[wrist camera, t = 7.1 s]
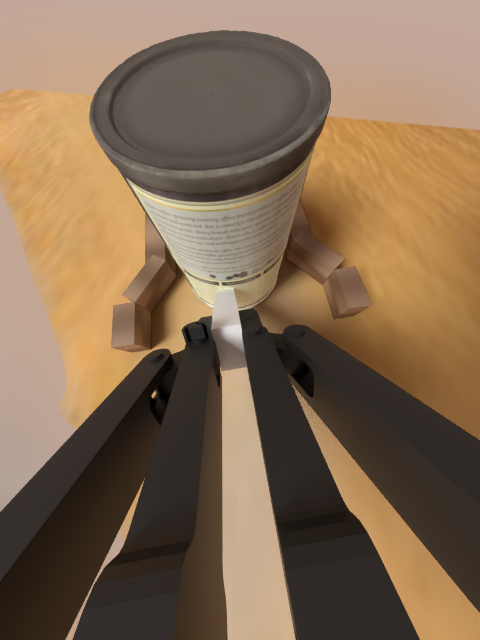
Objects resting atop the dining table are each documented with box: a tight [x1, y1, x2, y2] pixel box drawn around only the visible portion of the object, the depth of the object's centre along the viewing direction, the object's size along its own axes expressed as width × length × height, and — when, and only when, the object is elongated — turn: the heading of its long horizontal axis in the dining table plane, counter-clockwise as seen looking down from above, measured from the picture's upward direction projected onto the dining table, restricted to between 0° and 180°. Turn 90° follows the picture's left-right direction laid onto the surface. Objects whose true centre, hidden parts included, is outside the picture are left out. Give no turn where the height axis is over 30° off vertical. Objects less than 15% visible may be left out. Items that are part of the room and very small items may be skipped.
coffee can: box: [90, 30, 331, 311], centre depth 15 cm, size 10×10×14 cm
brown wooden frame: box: [111, 199, 372, 352], centre depth 21 cm, size 22×23×4 cm
